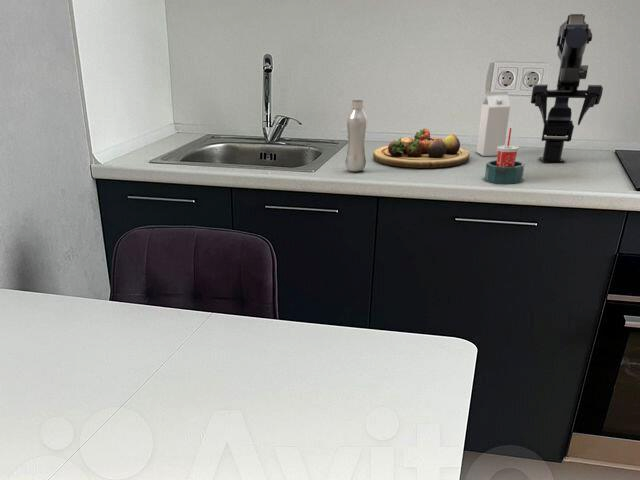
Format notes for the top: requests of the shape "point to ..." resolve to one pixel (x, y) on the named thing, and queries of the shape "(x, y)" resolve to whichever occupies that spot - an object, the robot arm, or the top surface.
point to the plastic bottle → (356, 137)
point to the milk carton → (493, 123)
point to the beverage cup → (506, 154)
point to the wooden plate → (423, 152)
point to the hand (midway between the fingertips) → (561, 124)
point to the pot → (504, 173)
